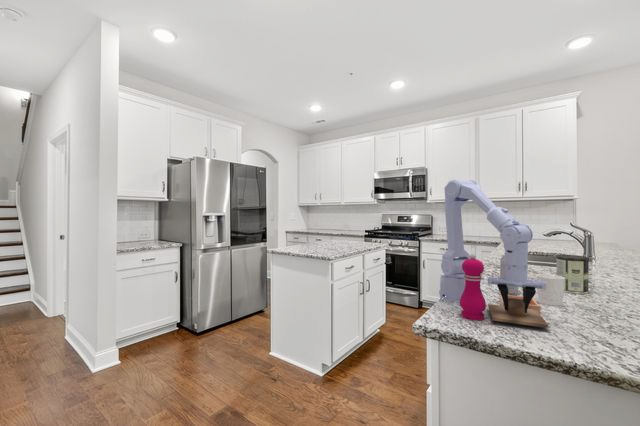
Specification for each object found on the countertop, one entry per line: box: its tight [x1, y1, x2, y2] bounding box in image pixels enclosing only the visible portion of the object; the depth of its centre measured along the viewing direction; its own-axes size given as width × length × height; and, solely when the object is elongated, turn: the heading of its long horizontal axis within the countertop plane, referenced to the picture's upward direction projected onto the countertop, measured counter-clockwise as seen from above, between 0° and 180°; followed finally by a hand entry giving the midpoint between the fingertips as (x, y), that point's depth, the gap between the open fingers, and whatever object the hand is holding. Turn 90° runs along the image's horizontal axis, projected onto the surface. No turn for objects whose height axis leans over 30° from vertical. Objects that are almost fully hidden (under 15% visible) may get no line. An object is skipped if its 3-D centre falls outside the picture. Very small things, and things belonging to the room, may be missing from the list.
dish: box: [498, 293, 541, 315], centre depth 100 cm, size 10×10×3 cm
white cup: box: [536, 273, 565, 307], centre depth 105 cm, size 8×8×10 cm
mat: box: [486, 308, 552, 334], centre depth 89 cm, size 14×14×1 cm
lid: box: [487, 298, 549, 329], centre depth 89 cm, size 13×13×5 cm
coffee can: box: [555, 254, 590, 295], centre depth 122 cm, size 10×10×14 cm
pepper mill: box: [459, 253, 487, 321], centre depth 92 cm, size 7×7×20 cm
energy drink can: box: [499, 254, 519, 296], centre depth 118 cm, size 6×6×15 cm
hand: (515, 310), depth 89 cm, fingers closed on lid, 4 cm apart
